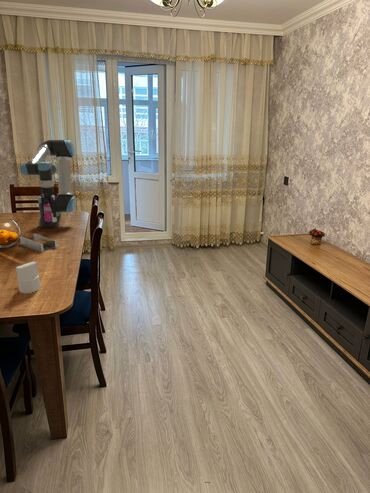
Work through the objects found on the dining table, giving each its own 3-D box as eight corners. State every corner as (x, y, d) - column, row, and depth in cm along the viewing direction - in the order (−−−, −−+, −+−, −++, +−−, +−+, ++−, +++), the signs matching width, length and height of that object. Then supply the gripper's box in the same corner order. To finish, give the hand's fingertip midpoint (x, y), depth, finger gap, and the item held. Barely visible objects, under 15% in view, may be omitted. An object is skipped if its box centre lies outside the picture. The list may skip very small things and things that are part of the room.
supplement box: (47, 220, 231) (45, 203, 227) (56, 220, 232) (54, 203, 228) (45, 222, 226) (43, 205, 222) (54, 222, 226) (52, 205, 222)
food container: (65, 218, 287) (64, 207, 284) (60, 220, 281) (59, 208, 278) (53, 217, 291) (52, 205, 288) (48, 219, 285) (47, 207, 282)
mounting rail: (19, 246, 217) (18, 237, 215) (37, 242, 226) (36, 233, 224) (40, 254, 203) (39, 245, 201) (58, 249, 212) (57, 240, 210)
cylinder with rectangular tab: (27, 295, 153) (23, 270, 149) (15, 290, 157) (11, 265, 154) (44, 287, 160) (41, 263, 156) (32, 283, 165) (29, 260, 161)
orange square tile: (30, 243, 213) (29, 242, 212) (40, 241, 218) (40, 239, 218) (36, 245, 209) (36, 244, 208) (46, 243, 214) (46, 241, 214)
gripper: (32, 185, 224) (37, 219, 232) (50, 189, 212) (54, 224, 220) (43, 184, 230) (47, 217, 237) (61, 187, 218) (65, 222, 226)
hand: (50, 220), depth 229 cm, fingers closed on supplement box, 8 cm apart
